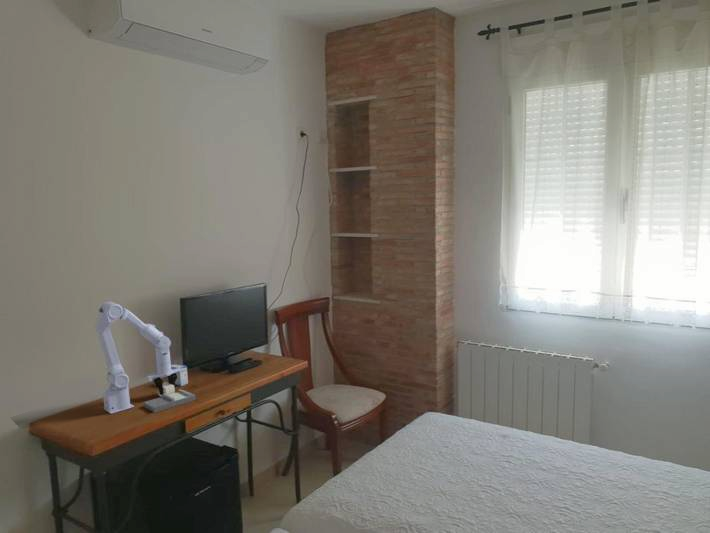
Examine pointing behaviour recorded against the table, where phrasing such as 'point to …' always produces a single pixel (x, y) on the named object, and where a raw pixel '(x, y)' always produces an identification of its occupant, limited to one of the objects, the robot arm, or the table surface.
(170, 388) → the cream white block
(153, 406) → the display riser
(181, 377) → the medicine box
